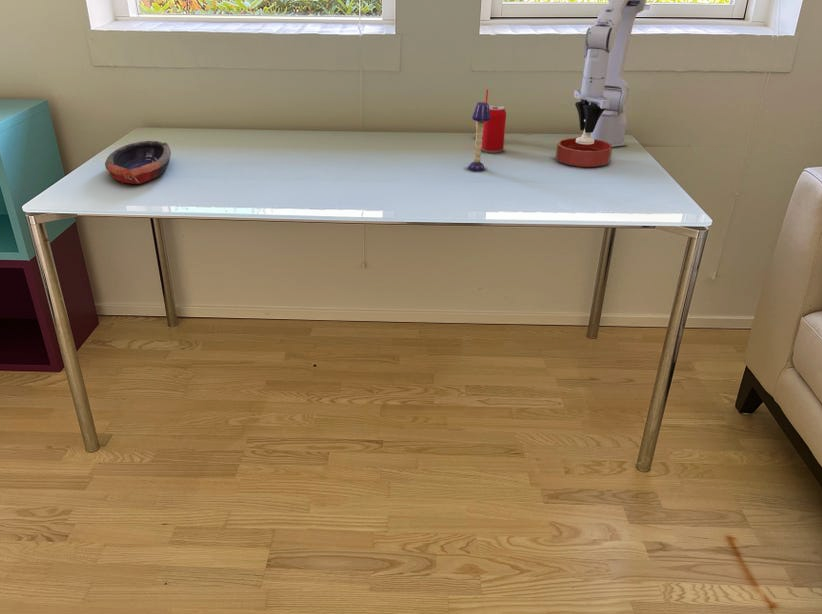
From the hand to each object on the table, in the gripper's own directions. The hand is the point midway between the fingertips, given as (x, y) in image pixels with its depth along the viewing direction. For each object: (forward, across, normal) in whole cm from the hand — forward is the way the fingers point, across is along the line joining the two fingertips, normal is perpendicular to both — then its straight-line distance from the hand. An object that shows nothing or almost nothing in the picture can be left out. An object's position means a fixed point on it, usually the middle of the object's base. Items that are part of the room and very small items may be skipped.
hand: (586, 131), depth 193 cm
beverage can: (+8, -16, -20) cm, 27 cm away
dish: (+8, -22, -116) cm, 118 cm away
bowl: (+8, 0, 0) cm, 8 cm away
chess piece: (+3, 0, 0) cm, 3 cm away
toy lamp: (+8, -1, -30) cm, 31 cm away
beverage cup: (+8, -30, -16) cm, 35 cm away
